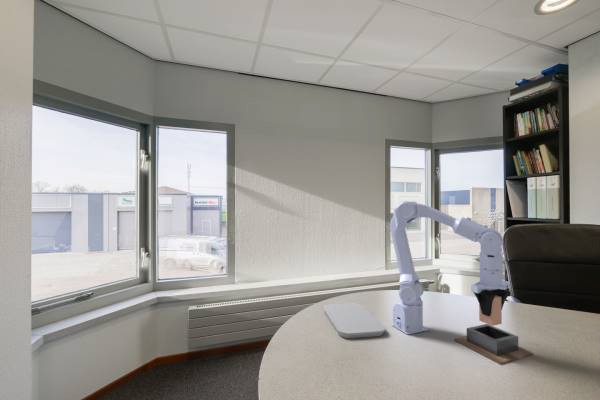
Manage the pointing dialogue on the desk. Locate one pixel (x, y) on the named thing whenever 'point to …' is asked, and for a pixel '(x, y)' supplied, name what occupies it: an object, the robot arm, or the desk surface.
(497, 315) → the peg
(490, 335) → the socket board
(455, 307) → the desk surface
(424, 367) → the desk surface
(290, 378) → the desk surface
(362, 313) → the tablet
